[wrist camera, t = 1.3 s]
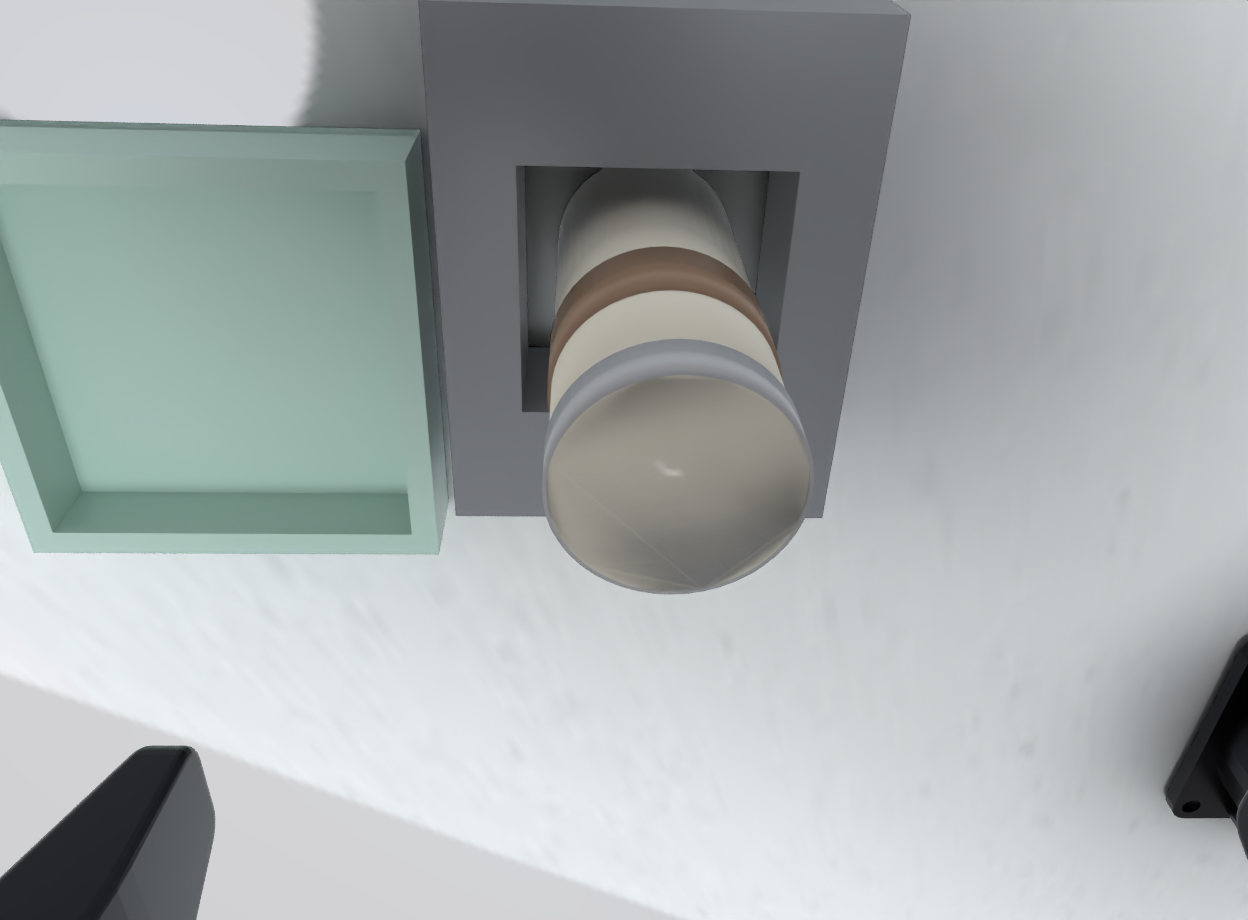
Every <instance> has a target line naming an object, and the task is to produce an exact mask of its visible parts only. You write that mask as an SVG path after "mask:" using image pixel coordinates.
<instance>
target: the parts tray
mask: <svg viewBox="0 0 1248 920" xmlns="http://www.w3.org/2000/svg"><path fill="white" fill-rule="evenodd" d="M0 462H1V465H2V468H3V470H4V473H5V476H6V478H7V481H8V484H9V487H10V489H11V492H12V495H13V497H14V500H15V503H16V506H17V508H18V511H19V514H20V516H21V519H22V522H23V524H24V527H25V530H26V533H27V535H28V538H29V541H30V543H31V546H32V549H33V552H34V553H233V554H439V551H440V546H441V540H442V535H443V529H444V524H445V519H446V513H447V508H448V502H449V501H448V488H447V475H446V462H445V449H444V436H443V423H442V410H441V397H440V384H439V371H438V358H437V345H436V332H435V319H434V306H433V293H432V280H431V267H430V254H429V241H428V228H427V215H426V202H425V189H424V176H423V163H422V150H421V137H420V130H411V129H369V128H328V127H286V126H244V125H243V126H242V125H201V124H198V125H197V124H160V123H119V122H77V121H35V120H0Z"/></svg>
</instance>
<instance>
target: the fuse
mask: <svg viewBox="0 0 1248 920" xmlns="http://www.w3.org/2000/svg"><path fill="white" fill-rule="evenodd" d="M547 398H548V409H549V413H550V420H549V424H548V427H547V432H546V436H545V444H544V460H543V478H542V497H543V506H544V510H545V513H546V517H547V520H548V522H549V525H550V527H551V529H552V532H553V533H554V535H555V536H556V538H557V540H558V541H559V543H560V544H561V545H562V547H563V548H564V549H565V550H566V551H567V553H568V554H569V555H570V556H571V557H572V558H573V559H575V560H576V561H577V562H578V563H579V564H580V565H581V566H583V567H584V568H586V569H587V570H589V571H590V572H591V573H593V574H595V575H597V576H598V577H600V578H602V579H604V580H606V581H608V582H611V583H613V584H616V585H619V586H621V587H625V588H628V589H632V590H636V591H641V592H647V593H654V594H687V593H694V592H701V591H706V590H710V589H714V588H718V587H721V586H724V585H727V584H729V583H732V582H735V581H737V580H739V579H741V578H743V577H745V576H747V575H749V574H751V573H753V572H754V571H756V570H758V569H759V568H761V567H762V566H764V565H765V564H766V563H768V562H769V561H770V560H771V559H773V558H774V557H775V556H776V555H777V554H778V553H779V552H780V551H781V550H782V549H783V548H784V547H785V546H786V545H787V544H788V543H789V542H790V540H791V539H792V538H793V537H794V535H795V534H796V533H797V531H798V529H799V527H800V526H801V524H802V522H803V521H804V518H805V516H806V514H807V511H808V509H809V506H810V502H811V498H812V494H813V487H814V466H813V460H812V455H811V451H810V447H809V445H808V442H807V439H806V436H805V433H804V430H803V427H802V424H801V421H800V418H799V415H798V413H797V410H796V408H795V406H794V403H793V401H792V399H791V397H790V396H789V394H788V392H787V391H786V389H785V387H784V384H783V380H782V370H781V366H780V362H779V357H778V354H777V352H776V349H775V346H774V343H773V340H772V337H771V334H770V331H769V328H768V325H767V323H766V320H765V317H764V314H763V311H762V309H761V306H760V304H759V302H758V300H757V298H756V296H755V295H754V293H753V291H752V289H751V286H750V283H749V280H748V277H747V274H746V271H745V268H744V265H743V262H742V259H741V256H740V253H739V250H738V247H737V245H736V242H735V239H734V236H733V233H732V230H731V227H730V224H729V221H728V218H727V215H726V212H725V210H724V207H723V205H722V202H721V201H720V199H719V197H718V196H717V194H716V193H715V191H714V190H713V189H712V187H711V186H710V185H709V184H708V183H707V182H706V181H705V180H704V179H703V178H702V177H700V176H699V175H698V174H696V173H695V172H694V171H692V170H690V169H652V168H608V167H605V168H603V169H602V170H600V171H598V172H597V173H595V174H594V175H592V176H591V177H590V178H589V179H588V180H586V181H585V182H584V183H583V184H582V185H581V186H580V187H579V188H578V190H577V191H576V192H575V194H574V195H573V196H572V198H571V199H570V201H569V203H568V205H567V207H566V209H565V211H564V214H563V217H562V220H561V224H560V229H559V241H558V261H557V281H556V301H555V319H554V322H553V327H552V331H551V338H550V354H549V371H548V389H547Z"/></svg>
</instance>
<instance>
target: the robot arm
mask: <svg viewBox="0 0 1248 920" xmlns="http://www.w3.org/2000/svg"><path fill="white" fill-rule="evenodd" d="M1166 801H1167V803H1168V805H1169V807H1170V808H1171V810H1172V812H1173V813H1174V815H1175V816H1177V817H1179V818H1231V819H1232V821H1233V822H1234V824H1235V825H1236V827H1237V829H1238V834H1239V837H1240V840H1241V843H1242V846H1243V848H1244V851H1245V854H1246V857H1247V859H1248V642H1247V643H1246V644H1245V645H1244V646H1243V647H1242V648H1241V649H1240V651H1239V653H1238V655H1237V657H1236V659H1235V661H1234V663H1233V665H1232V667H1231V669H1230V670H1229V672H1228V674H1227V676H1226V678H1225V680H1224V682H1223V684H1222V686H1221V688H1220V690H1219V692H1218V694H1217V696H1216V698H1215V700H1214V702H1213V704H1212V706H1211V708H1210V710H1209V712H1208V714H1207V716H1206V718H1205V720H1204V722H1203V724H1202V726H1201V728H1200V730H1199V732H1198V734H1197V736H1196V738H1195V740H1194V742H1193V743H1192V745H1191V747H1190V749H1189V751H1188V753H1187V755H1186V757H1185V759H1184V761H1183V763H1182V765H1181V767H1180V769H1179V771H1178V773H1177V775H1176V777H1175V779H1174V781H1173V783H1172V785H1171V787H1170V789H1169V791H1168V793H1167V795H1166ZM214 832H215V811H214V807H213V803H212V799H211V796H210V792H209V789H208V786H207V782H206V778H205V775H204V771H203V768H202V764H201V760H200V758H199V755H198V753H197V752H196V751H195V749H193V748H192V747H189V746H146V747H143V748H141V749H139V750H137V751H136V752H134V753H133V754H132V755H130V756H129V757H128V758H127V759H126V760H125V761H124V762H123V763H122V764H121V765H120V766H119V767H118V768H117V769H116V770H114V771H113V772H112V773H111V774H110V775H109V776H108V777H107V778H106V779H105V780H104V781H103V782H102V783H101V784H100V785H98V786H97V787H96V788H95V789H94V790H93V791H92V792H91V793H90V794H89V795H88V796H87V797H86V798H85V799H83V800H82V801H81V802H80V803H79V804H78V805H77V806H76V807H75V808H74V809H73V810H72V811H71V812H70V813H69V814H68V815H66V816H65V817H64V818H63V819H62V820H61V821H60V822H59V823H58V824H57V825H56V826H55V827H54V828H53V829H52V830H51V831H49V832H48V833H47V834H46V835H45V836H44V837H43V838H42V839H41V840H40V841H39V842H38V843H37V844H36V845H34V847H32V848H31V849H30V850H29V851H28V852H27V853H26V854H25V855H24V856H23V857H22V858H21V859H20V860H19V861H18V862H16V863H15V864H14V865H13V866H12V867H11V868H10V869H9V870H8V871H7V872H6V873H5V874H4V875H3V876H1V878H0V920H196V917H197V913H198V908H199V904H200V899H201V894H202V890H203V885H204V881H205V876H206V872H207V867H208V863H209V858H210V853H211V849H212V844H213V839H214Z"/></svg>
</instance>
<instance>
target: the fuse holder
mask: <svg viewBox="0 0 1248 920" xmlns="http://www.w3.org/2000/svg"><path fill="white" fill-rule="evenodd" d="M418 1H419V15H420V29H421V43H422V56H423V70H424V84H425V98H426V112H427V125H428V139H429V153H430V167H431V180H432V194H433V208H434V222H435V236H436V249H437V263H438V277H439V291H440V305H441V318H442V332H443V346H444V360H445V373H446V387H447V401H448V415H449V429H450V442H451V456H452V470H453V484H454V498H455V511H456V516H546V513H545V510H544V506H543V497H542V478H543V460H544V444H545V436H546V432H547V427H548V424H549V420H550V413H549V409H548V398H547V389H548V371H549V354H550V347H528V308H527V260H526V212H525V166H563V167H608V168H652V169H697V170H742V171H770V173H769V182H768V191H767V200H766V208H765V217H764V226H763V235H762V243H761V252H760V261H759V270H758V279H757V287H756V298H757V300H758V302H759V304H760V306H761V309H762V311H763V314H764V317H765V320H766V323H767V325H768V328H769V331H770V334H771V337H772V340H773V343H774V346H775V349H776V352H777V354H778V357H779V362H780V366H781V370H782V380H783V384H784V387H785V389H786V391H787V392H788V394H789V396H790V397H791V399H792V401H793V403H794V406H795V408H796V410H797V413H798V415H799V418H800V421H801V424H802V427H803V430H804V433H805V436H806V439H807V442H808V445H809V447H810V451H811V455H812V460H813V466H814V487H813V494H812V498H811V502H810V506H809V509H808V511H807V514H806V516H805V518H822V516H823V510H824V505H825V499H826V493H827V488H828V482H829V476H830V471H831V465H832V459H833V454H834V448H835V442H836V437H837V431H838V426H839V420H840V414H841V409H842V403H843V397H844V392H845V386H846V380H847V375H848V369H849V363H850V358H851V352H852V346H853V341H854V335H855V329H856V324H857V318H858V312H859V307H860V301H861V295H862V290H863V284H864V278H865V273H866V267H867V262H868V256H869V250H870V245H871V239H872V233H873V228H874V222H875V216H876V211H877V205H878V199H879V194H880V188H881V182H882V177H883V171H884V165H885V160H886V154H887V148H888V143H889V137H890V131H891V126H892V120H893V114H894V109H895V103H896V98H897V92H898V86H899V81H900V75H901V69H902V64H903V58H904V52H905V47H906V41H907V35H908V30H909V24H910V18H911V15H910V14H909V13H908V12H906V11H905V10H903V9H902V8H900V7H899V6H898V5H896V4H895V3H893V2H892V1H890V0H418Z"/></svg>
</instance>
